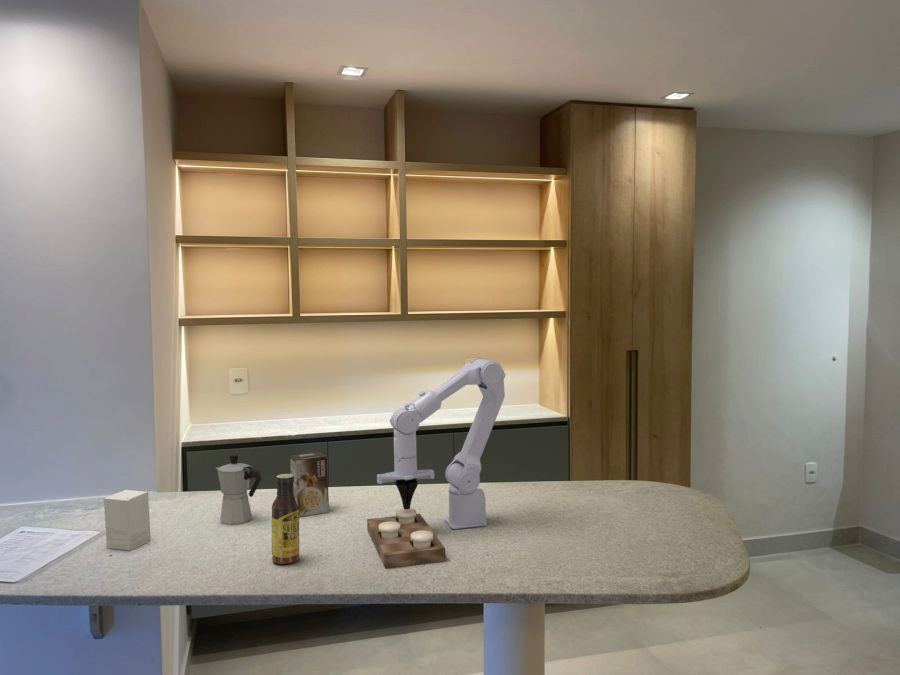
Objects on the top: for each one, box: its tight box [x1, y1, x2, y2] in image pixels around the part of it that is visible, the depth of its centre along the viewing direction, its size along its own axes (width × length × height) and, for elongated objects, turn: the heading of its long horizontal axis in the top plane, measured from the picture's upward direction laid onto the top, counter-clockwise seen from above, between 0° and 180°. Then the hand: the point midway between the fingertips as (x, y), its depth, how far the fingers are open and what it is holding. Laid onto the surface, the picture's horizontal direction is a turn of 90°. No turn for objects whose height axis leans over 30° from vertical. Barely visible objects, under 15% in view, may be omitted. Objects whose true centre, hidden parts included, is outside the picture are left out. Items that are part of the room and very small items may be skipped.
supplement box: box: [103, 489, 152, 552], centre depth 170 cm, size 7×7×13 cm
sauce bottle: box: [271, 473, 300, 565], centre depth 158 cm, size 7×6×20 cm
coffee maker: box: [215, 453, 263, 526], centre depth 186 cm, size 15×9×18 cm, turn 68°
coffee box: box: [289, 451, 330, 518], centre depth 192 cm, size 9×6×16 cm
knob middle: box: [379, 521, 400, 539], centre depth 167 cm, size 5×5×5 cm
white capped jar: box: [395, 507, 418, 524], centre depth 176 cm, size 5×5×5 cm
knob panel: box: [366, 513, 446, 569], centre depth 168 cm, size 14×25×3 cm, turn 16°
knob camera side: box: [411, 531, 433, 549], centre depth 160 cm, size 5×5×5 cm
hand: (406, 508), depth 176 cm, fingers closed
